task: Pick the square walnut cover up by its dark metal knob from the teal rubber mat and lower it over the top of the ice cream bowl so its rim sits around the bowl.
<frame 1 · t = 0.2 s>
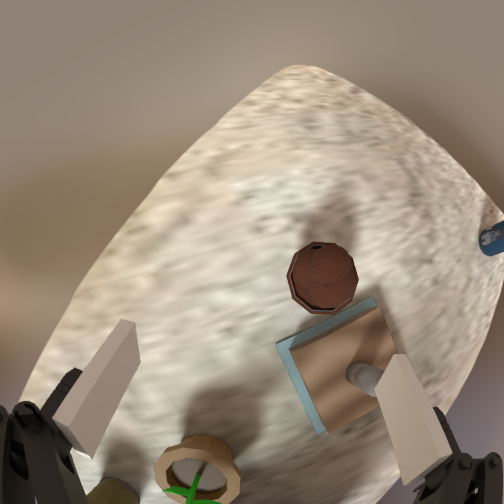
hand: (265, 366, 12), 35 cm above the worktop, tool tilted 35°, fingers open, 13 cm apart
canister: (120, 493, 37), on the worktop
lid: (347, 368, 44), resting on mat
mat: (346, 367, 45), on the worktop
soda can: (484, 244, 51), on the worktop
flowerpot: (205, 454, 41), on the worktop
ice cream bowl: (310, 285, 49), on the worktop
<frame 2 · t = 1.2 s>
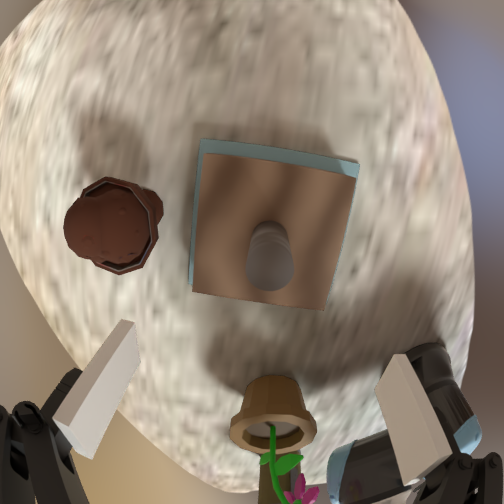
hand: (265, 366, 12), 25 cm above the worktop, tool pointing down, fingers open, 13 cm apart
canister: (280, 452, 56), on the worktop
lid: (269, 226, 35), resting on mat
mat: (269, 225, 35), on the worktop
flowerpot: (273, 391, 47), on the worktop
ice cream bowl: (146, 208, 36), on the worktop
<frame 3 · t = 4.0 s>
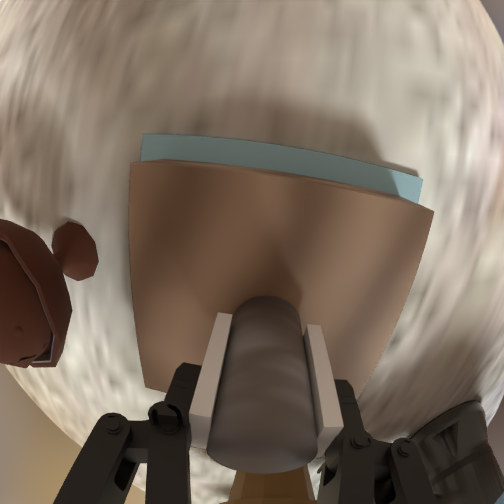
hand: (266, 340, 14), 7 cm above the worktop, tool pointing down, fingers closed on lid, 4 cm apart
lid: (267, 287, 20), resting on mat, touching gripper
mat: (267, 284, 21), on the worktop
flowerpot: (272, 464, 32), on the worktop
ice cream bowl: (75, 250, 21), on the worktop
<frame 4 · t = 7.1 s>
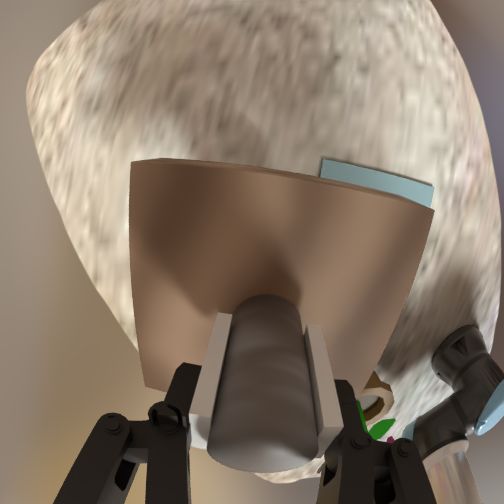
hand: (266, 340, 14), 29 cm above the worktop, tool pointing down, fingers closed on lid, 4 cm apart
lid: (267, 286, 20), point 23 cm above the worktop, touching gripper
mat: (370, 233, 41), on the worktop
flowerpot: (349, 375, 52), on the worktop
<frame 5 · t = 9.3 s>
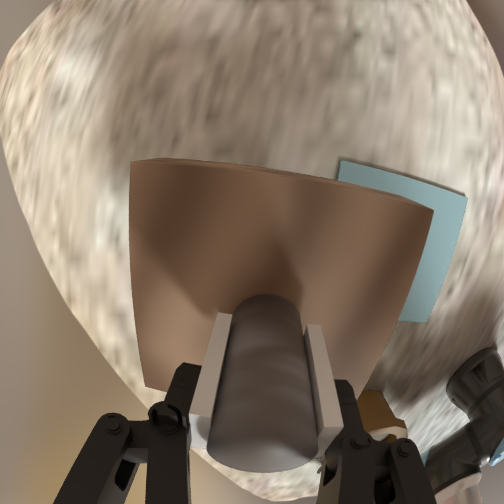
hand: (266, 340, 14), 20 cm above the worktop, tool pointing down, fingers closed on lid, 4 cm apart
lid: (267, 286, 20), point 13 cm above the worktop, touching gripper
mat: (395, 253, 33), on the worktop
flowerpot: (359, 405, 44), on the worktop
when the fingers open (20 cm above the worktop, at t = 10.2 s): lid drops 2 cm, resting on ice cream bowl.
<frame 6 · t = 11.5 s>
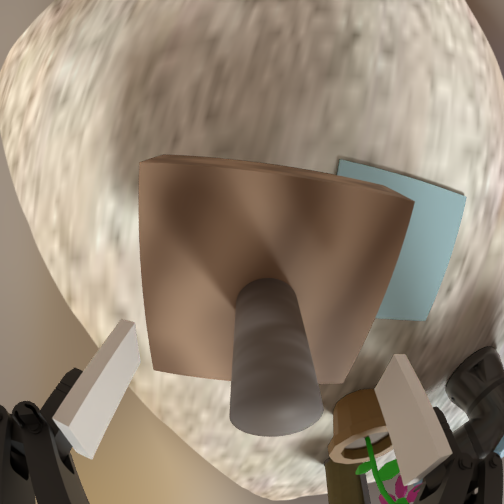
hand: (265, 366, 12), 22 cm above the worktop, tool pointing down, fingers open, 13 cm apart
canister: (343, 459, 54), on the worktop
lid: (263, 270, 22), point 12 cm above the worktop, tilted 5°, touching ice cream bowl
mat: (393, 252, 33), on the worktop
flowerpot: (358, 404, 44), on the worktop
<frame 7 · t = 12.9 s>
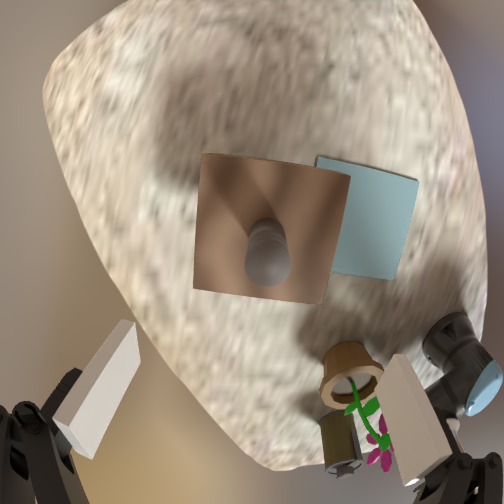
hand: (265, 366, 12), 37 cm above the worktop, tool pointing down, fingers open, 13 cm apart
canister: (336, 419, 67), on the worktop
lid: (267, 224, 36), point 11 cm above the worktop, touching ice cream bowl
mat: (361, 223, 47), on the worktop
flowerpot: (344, 357, 58), on the worktop
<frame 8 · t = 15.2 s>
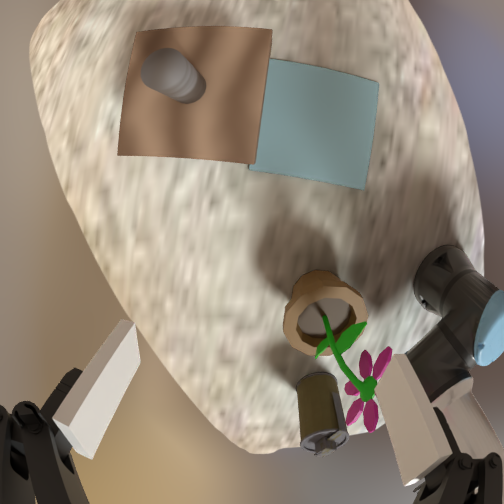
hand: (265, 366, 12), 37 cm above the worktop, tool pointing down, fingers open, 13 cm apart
canister: (317, 384, 61), on the worktop
lid: (198, 94, 30), point 11 cm above the worktop, touching ice cream bowl
mat: (317, 121, 41), on the worktop
flowerpot: (317, 293, 52), on the worktop
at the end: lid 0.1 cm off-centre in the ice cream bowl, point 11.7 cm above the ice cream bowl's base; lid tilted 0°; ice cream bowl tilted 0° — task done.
